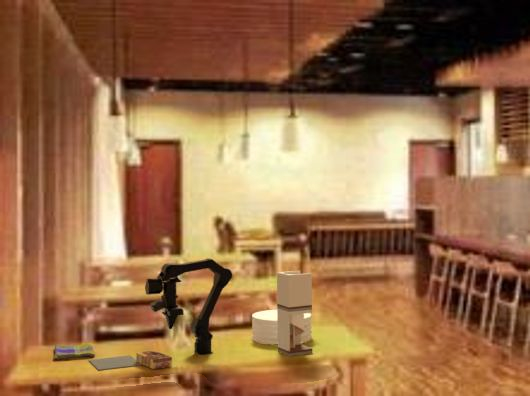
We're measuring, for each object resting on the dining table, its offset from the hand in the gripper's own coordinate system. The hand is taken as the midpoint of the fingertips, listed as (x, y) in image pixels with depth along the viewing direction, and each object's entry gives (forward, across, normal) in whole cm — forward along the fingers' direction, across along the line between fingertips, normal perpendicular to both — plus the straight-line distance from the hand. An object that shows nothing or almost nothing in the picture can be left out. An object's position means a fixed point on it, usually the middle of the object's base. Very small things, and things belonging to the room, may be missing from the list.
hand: (170, 328), depth 341 cm
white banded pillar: (+12, +18, +51) cm, 56 cm away
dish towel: (+13, -26, -36) cm, 46 cm away
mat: (+12, 0, -24) cm, 27 cm away
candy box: (+10, +3, -12) cm, 16 cm away
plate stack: (+12, -10, +58) cm, 60 cm away
